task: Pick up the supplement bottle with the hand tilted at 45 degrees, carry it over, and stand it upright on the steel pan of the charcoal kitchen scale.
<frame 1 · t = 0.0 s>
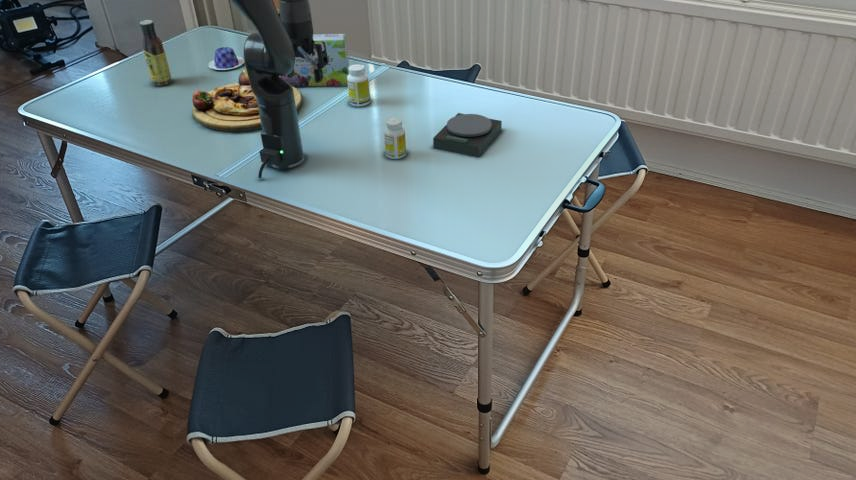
hand: (305, 79, 188), 17 cm above the table, tool pointing down, fingers open, 8 cm apart
sauce bottle: (162, 83, 233), on the table
supplement bottle: (396, 155, 190), on the table
wooden plate: (248, 109, 216), on the table
pill bottle: (360, 103, 216), on the table
whiskey bottle: (282, 64, 243), on the table
kitchen scale: (468, 139, 196), on the table
pudding: (227, 65, 243), on the table
snack box: (316, 84, 228), on the table
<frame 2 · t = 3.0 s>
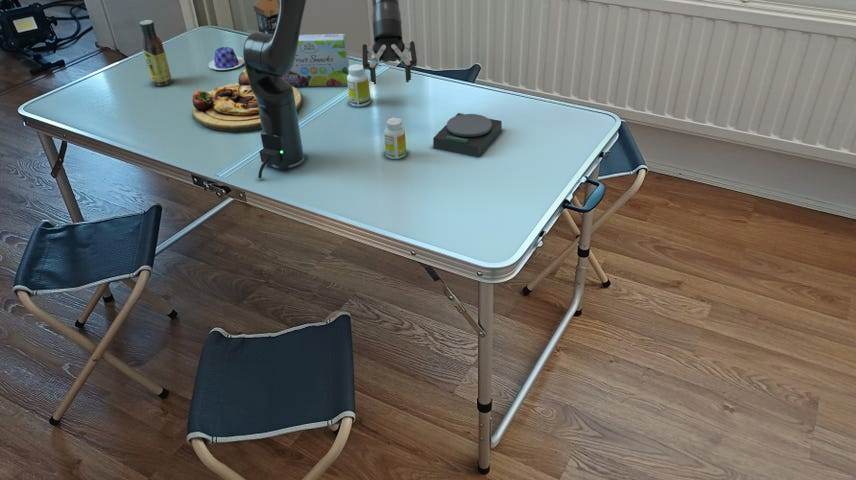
hand: (391, 82, 190), 15 cm above the table, tool tilted 45°, fingers open, 8 cm apart
nothing on the table moved.
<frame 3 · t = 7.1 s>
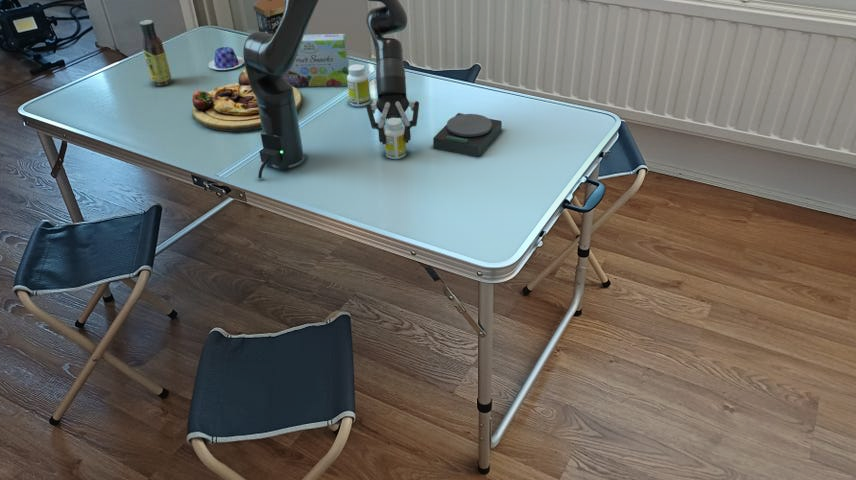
hand: (395, 142, 186), 4 cm above the table, tool tilted 45°, fingers closed on supplement bottle, 5 cm apart
supplement bottle: (396, 155, 190), on the table, touching gripper
everything else where it was.
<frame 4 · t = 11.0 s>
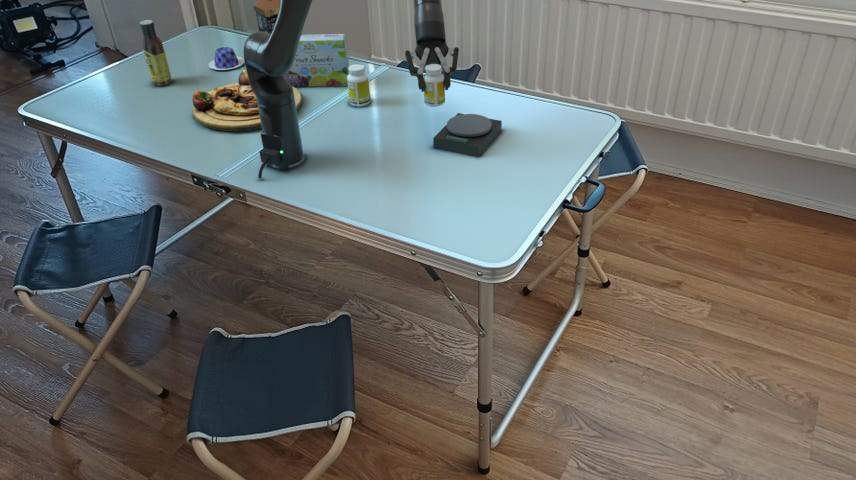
hand: (435, 89, 182), 16 cm above the table, tool tilted 45°, fingers closed on supplement bottle, 5 cm apart
supplement bottle: (434, 103, 186), point 12 cm above the table, touching gripper
everything else where it was.
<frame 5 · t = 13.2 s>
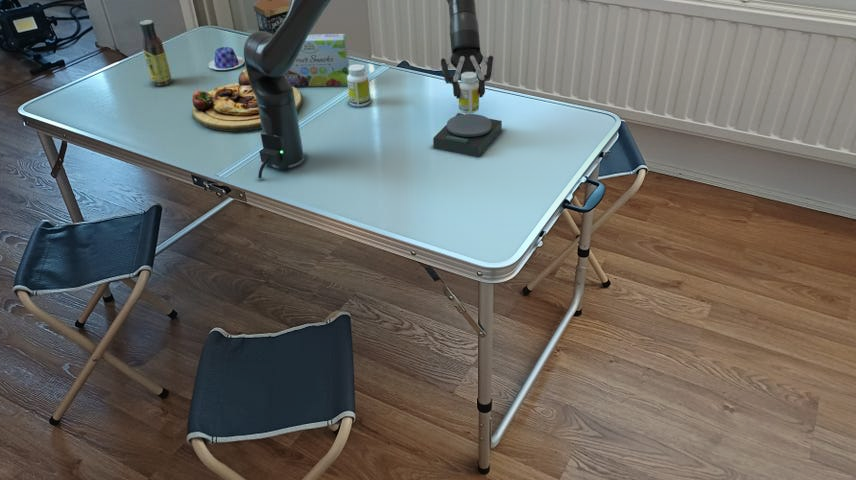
hand: (469, 96, 187), 13 cm above the table, tool tilted 45°, fingers closed on supplement bottle, 5 cm apart
supplement bottle: (468, 110, 191), point 8 cm above the table, touching gripper
everything else where it was.
when the fingers open (9 cm above the table, at t = 14.9 s): supplement bottle stays where it is, resting on kitchen scale.
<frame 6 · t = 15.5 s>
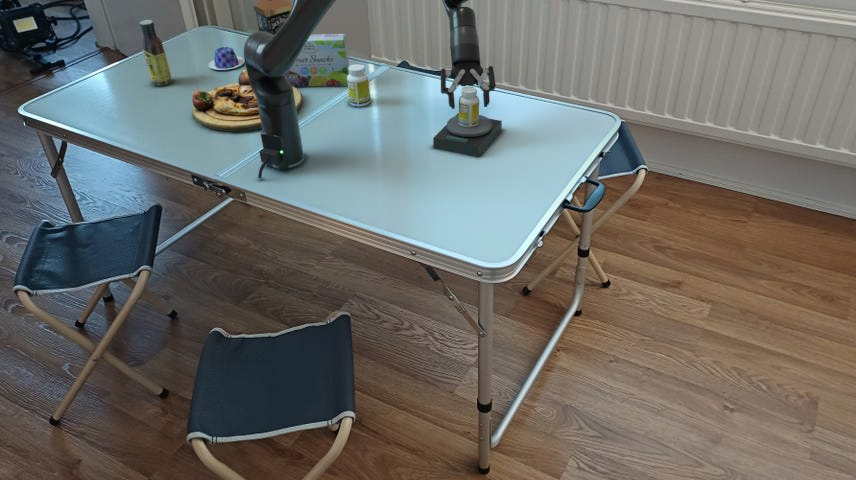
hand: (469, 107, 189), 10 cm above the table, tool tilted 45°, fingers open, 8 cm apart
supplement bottle: (468, 124, 194), point 4 cm above the table, touching kitchen scale
everything else where it was.
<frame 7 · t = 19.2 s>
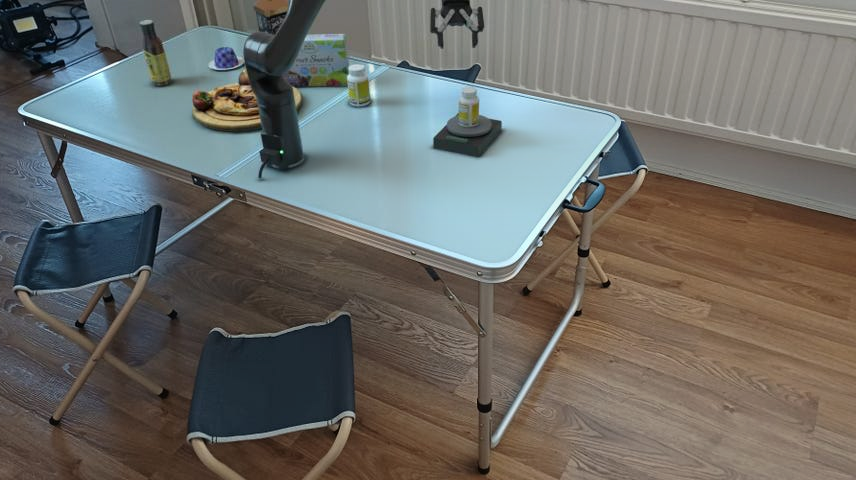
hand: (458, 47, 192), 21 cm above the table, tool tilted 40°, fingers open, 8 cm apart
nothing on the table moved.
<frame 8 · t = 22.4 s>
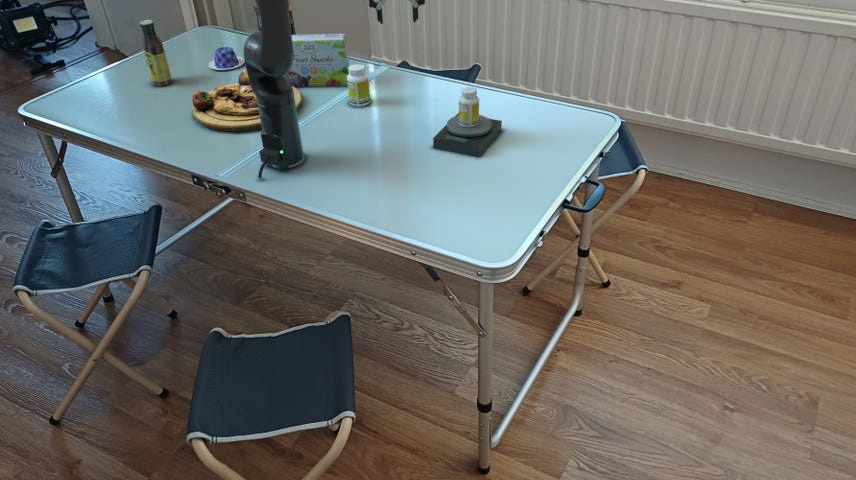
hand: (398, 22, 188), 28 cm above the table, tool pointing down, fingers open, 8 cm apart
nothing on the table moved.
at the end: supplement bottle inside the target area on the kitchen scale (0.1 cm from its centre), point 4.0 cm above the kitchen scale's base; supplement bottle tilted 0°; the gripper is holding nothing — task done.
